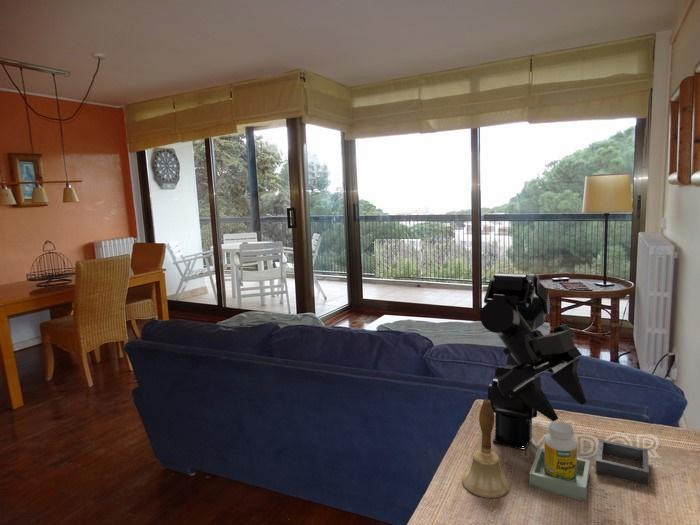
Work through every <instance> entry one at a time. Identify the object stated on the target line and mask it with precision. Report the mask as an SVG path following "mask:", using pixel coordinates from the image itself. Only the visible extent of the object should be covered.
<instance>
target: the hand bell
mask: <svg viewBox="0 0 700 525" xmlns="http://www.w3.org/2000/svg"><path fill="white" fill-rule="evenodd" d="M478 422H479V429H480V430H481V445H480V446H481V447H480V449H478V450H476V451H475V452H474V453H473V455H472V462H471V465H470V467H469V469H467V470H466V471H465V472H464V474H463V475H462V478H461V483H462V485H463V487H464V488H465V489H466V490H468V492H469V493H472V494H474V495H475V496H477V497H482V498H489V499H496V498H500V497H504V496H505V495H507V494H508V493H509V491H510V489H511V484H510V482H509V480H508V478H507V477H506V476H505V475H504V473H503V472H502V470H501V465H500V464H501V463H500V457H499V455H498V454H497V453H496V452H494V451H492V432H493V429H494V427H495V426H494V425H495V413H494V411H493V408H492V405H491V401H490V400H488V398H487V399H484V400H482V405H481V407H480V410H479V414H478Z"/></svg>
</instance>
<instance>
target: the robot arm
mask: <svg viewBox="0 0 700 525" xmlns="http://www.w3.org/2000/svg"><path fill="white" fill-rule="evenodd" d="M540 281H541V280H540V275H538V274H537V275H536V274H535V273H521V272H520V273H505V272H495V273H494V274H493V277H492V278H491V277H490V279H489V282H488V285H487V287H486V288H487V290H486V292H485V296H484V299H483V302H484V305H483V307H482V309H481V310H480V314H479V318H480V319H479V320H480V322H481V324H482V326H483V327H484V328H485V329H486V330H487V331H489V332H491V333H493V334H495V335H498V337H499V339H500V340H501V342H502V343H503V345H504V346H505V348H504V349H502V351H503V353H504V355H505V356H506V355H507V359H506V362H505V366H497V368H496V369H495V372H494V377H493V380H492V383H489V385H488V390H487V400H490V401H491V405H492V408H493V411H494V425H495V426H494V427H495V430H494V437H493V438H492V442H493V443H494V444H499V445H503V446H507V447H511V448H515V447H517V448H516V449H519V448H525V447H526V445H527V446H528V444H530V443H531V441H532V437H533V418H537V417H538V413H540V414H541V415H543V416H544V417H546V418H547V419H549V420H551V422H555V421H558V420H559V416H558V415H557V413H556V411H555V409H554V408H553V406H552V403H550V401H549V399H548V398H547V396H546V394H545V393H544V391H543V390H542V384H541V383H542V382H541V380H542V378H541V376H538V375H540V374H542V373H544V372H549V373H550V374H551V375H550V378H551V379H552V380H553V381H555V382H556V383H557V384H558V385H559V386H560V387H561V388H562V390H564V391H565V392H566V393H567V394H568V395H569V396H570V397H571V398H572V399H574V401H576V402H577V403H578V404H580V405H581V406H583V405H584V404H587V399H586V396H585V393H584V389H583V387H582V384H581V381H580V379H579V375H578V367H579V363H580V362H581V359H580V357H581V356H582V355H583V354H582V353H581V351H580V350H579V349H578V347H577V346H576V344H575V343H574V341H575V339H576V338H577V337H576V336H577V335H576V333H575V332H574V331H573V330H572V328H570V327H569V326H568V324H565V323H564V324H561V325H558V326H555V327H554V328H553V332H552V333H549V334H546V335H545V334H543V333H542V331H540V330H538V328H540V327H541V326H542V325H544V324H545V323H546V322H545V321H546V316H547V315H549V314H550V292H549V290H548V289H547V288H546V287H545V286H544V285H543V284H542V283H541V282H540ZM535 376H537V377H535ZM527 443H528V444H527ZM522 446H524V447H522ZM526 448H527V447H526Z"/></svg>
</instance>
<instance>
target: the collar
mask: <svg viewBox="0 0 700 525" xmlns="http://www.w3.org/2000/svg"><path fill="white" fill-rule="evenodd" d="M604 455H605V456H611V457H615V458H620V459H624V460H629V461H632V462H638V463H641V467H637V466H633V465H632V466H631V465H627V464H624V463H619V462H614V461H610V460H606V459H603V457H604ZM649 468H650V466H649V450H648V449H647V448H643V447H638V446H633V445H629V444H623V443H619V442H616V441H615V442H614V441H609V440H606V439H605V440H603V439H598V445H597V452H596V461H595V474H599V475H602V476H603V475H604V476H606V477H609V478H610V477H612V478H616V479H619V480H623V481H628V482H631V483H636V484H640V485H644V486H649V478H650V477H649V476H650V475H649V474H650V471H649V470H650V469H649Z"/></svg>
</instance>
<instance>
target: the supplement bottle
mask: <svg viewBox="0 0 700 525" xmlns="http://www.w3.org/2000/svg"><path fill="white" fill-rule="evenodd" d="M547 431H548V433H546V434H545V436H544V450H545V461H544V466H545V467H544V471H545V475H547V476H550V477H554V478H558V479H562V480H566V481H570V482H574V481H575V479H576V477H577V458H578V442H577V440H576V438H575V437H574V427H573V426H572V425H571V424H570V423H567V422H564V421H558V420H555V421H551V422H550V423H549V424H548V430H547Z"/></svg>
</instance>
